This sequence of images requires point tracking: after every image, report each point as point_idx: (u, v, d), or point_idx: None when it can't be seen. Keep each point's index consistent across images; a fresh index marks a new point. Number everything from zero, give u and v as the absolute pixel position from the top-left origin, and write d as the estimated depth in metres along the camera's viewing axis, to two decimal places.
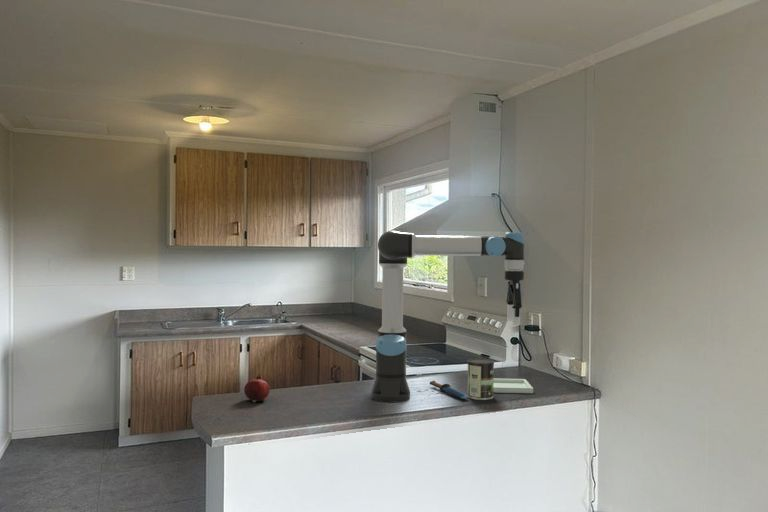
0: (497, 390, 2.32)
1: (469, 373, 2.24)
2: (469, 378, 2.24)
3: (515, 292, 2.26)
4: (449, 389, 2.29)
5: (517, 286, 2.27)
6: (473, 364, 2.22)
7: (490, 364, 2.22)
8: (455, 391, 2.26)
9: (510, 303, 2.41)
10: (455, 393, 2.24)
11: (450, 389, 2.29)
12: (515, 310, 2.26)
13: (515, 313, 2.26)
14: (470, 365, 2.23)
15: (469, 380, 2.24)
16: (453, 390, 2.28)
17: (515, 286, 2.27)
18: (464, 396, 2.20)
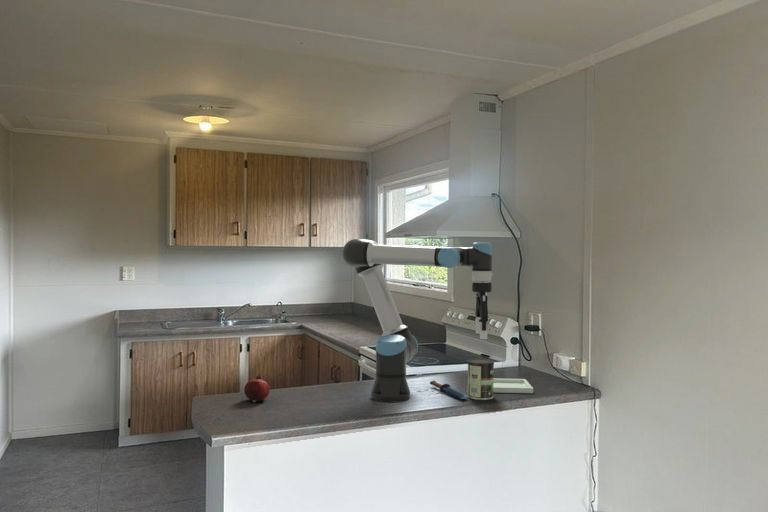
0: (497, 390, 2.32)
1: (469, 373, 2.24)
2: (469, 378, 2.24)
3: (482, 305, 2.17)
4: (449, 389, 2.29)
5: (484, 298, 2.18)
6: (473, 364, 2.22)
7: (490, 364, 2.22)
8: (455, 391, 2.26)
9: (479, 315, 2.32)
10: (455, 393, 2.24)
11: (450, 389, 2.29)
12: (482, 323, 2.18)
13: (482, 327, 2.17)
14: (470, 365, 2.23)
15: (469, 380, 2.24)
16: (453, 390, 2.28)
17: (482, 298, 2.18)
18: (464, 396, 2.20)
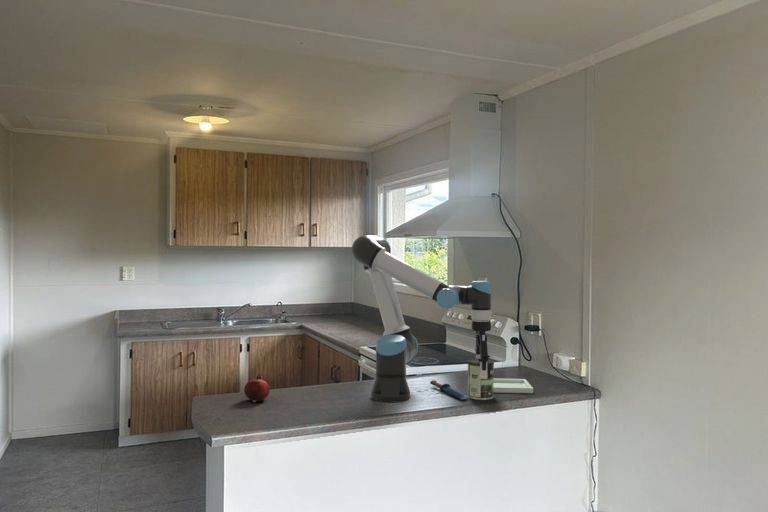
0: (497, 390, 2.32)
1: (469, 373, 2.24)
2: (469, 378, 2.24)
3: (481, 345, 2.18)
4: (449, 389, 2.29)
5: (483, 338, 2.18)
6: (473, 364, 2.22)
7: (490, 364, 2.22)
8: (455, 391, 2.26)
9: (479, 353, 2.33)
10: (455, 394, 2.24)
11: (450, 389, 2.29)
12: (482, 363, 2.18)
13: (482, 366, 2.18)
14: (470, 365, 2.23)
15: (469, 380, 2.24)
16: (453, 390, 2.28)
17: (481, 338, 2.18)
18: (463, 397, 2.20)
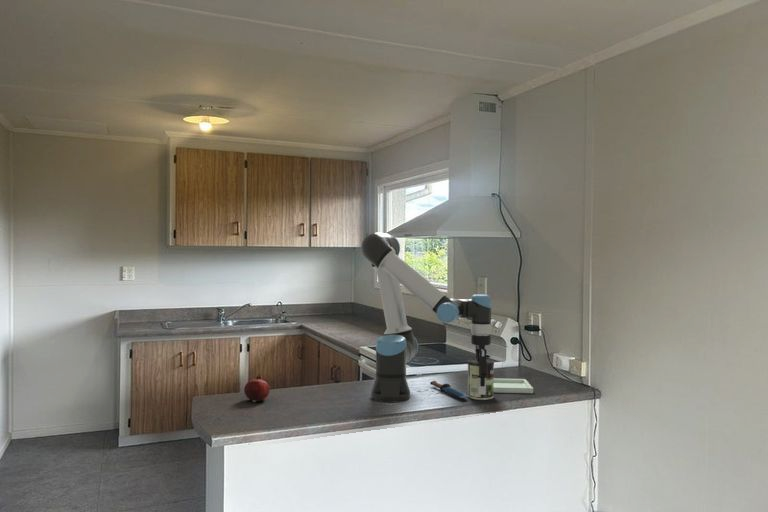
0: (497, 390, 2.32)
1: (469, 373, 2.24)
2: (469, 378, 2.24)
3: (481, 361, 2.18)
4: (449, 389, 2.29)
5: (483, 354, 2.19)
6: (473, 364, 2.22)
7: (490, 364, 2.22)
8: (455, 390, 2.27)
9: None
10: (454, 393, 2.24)
11: (450, 389, 2.29)
12: (480, 379, 2.19)
13: (480, 382, 2.19)
14: (470, 365, 2.23)
15: (469, 380, 2.24)
16: (453, 390, 2.28)
17: (481, 354, 2.19)
18: (463, 396, 2.20)
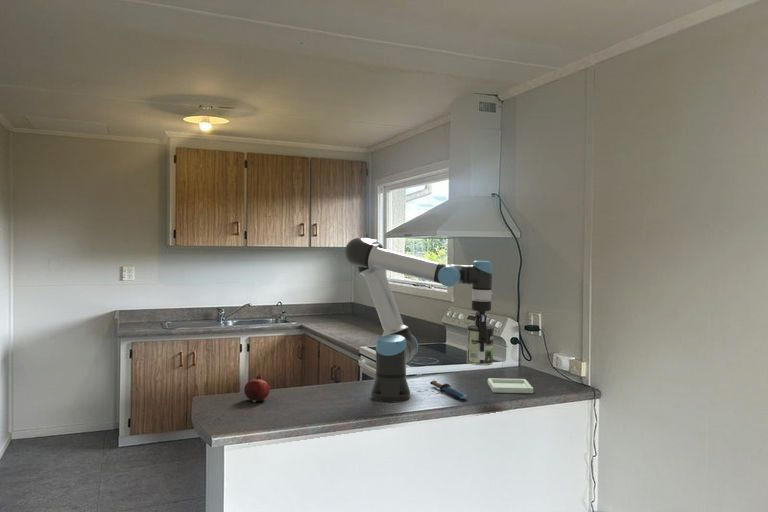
0: (497, 390, 2.32)
1: (469, 339, 2.24)
2: (469, 344, 2.24)
3: (480, 326, 2.18)
4: (449, 389, 2.29)
5: (483, 319, 2.18)
6: (473, 330, 2.22)
7: (490, 330, 2.21)
8: (455, 391, 2.27)
9: None
10: (454, 393, 2.24)
11: (450, 389, 2.29)
12: (480, 345, 2.19)
13: (480, 348, 2.19)
14: (470, 331, 2.23)
15: (469, 346, 2.24)
16: (453, 390, 2.28)
17: (481, 319, 2.18)
18: (463, 396, 2.20)
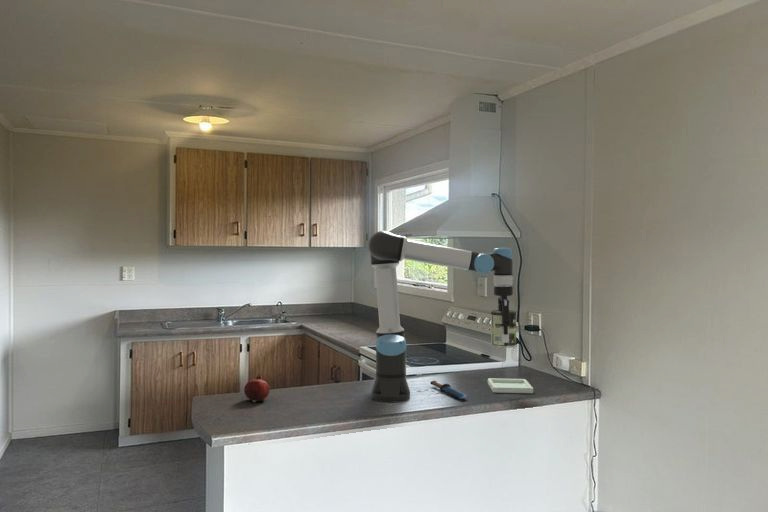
0: (497, 390, 2.32)
1: (492, 323, 2.33)
2: (493, 328, 2.33)
3: (503, 310, 2.28)
4: (449, 389, 2.29)
5: (505, 303, 2.28)
6: (496, 314, 2.31)
7: (513, 313, 2.31)
8: (455, 391, 2.26)
9: None
10: (454, 393, 2.24)
11: (450, 389, 2.29)
12: (503, 328, 2.29)
13: (503, 331, 2.29)
14: (493, 315, 2.33)
15: (493, 329, 2.33)
16: (453, 390, 2.28)
17: (503, 303, 2.28)
18: (463, 396, 2.20)
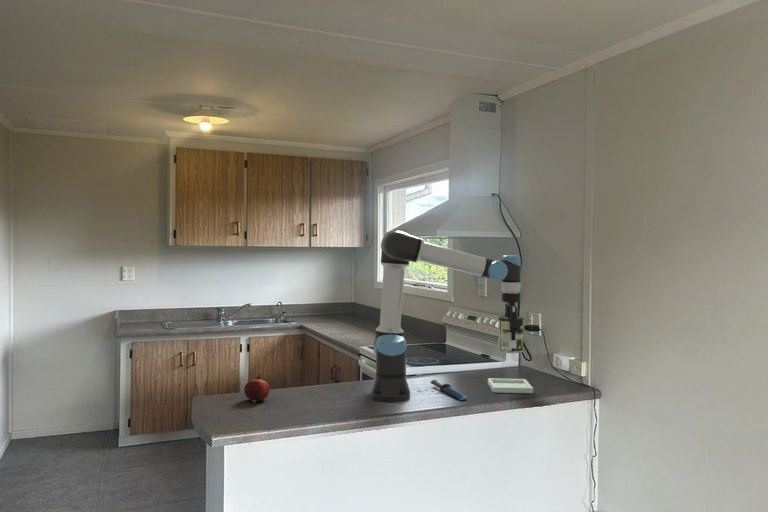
0: (497, 390, 2.32)
1: (500, 328, 2.38)
2: (500, 333, 2.38)
3: (511, 316, 2.32)
4: (449, 389, 2.29)
5: (514, 310, 2.33)
6: (504, 320, 2.36)
7: (520, 320, 2.36)
8: (455, 392, 2.26)
9: None
10: (454, 394, 2.24)
11: (450, 389, 2.29)
12: (511, 334, 2.33)
13: (511, 337, 2.33)
14: (501, 321, 2.37)
15: (500, 335, 2.38)
16: (453, 391, 2.28)
17: (512, 310, 2.33)
18: (463, 397, 2.20)
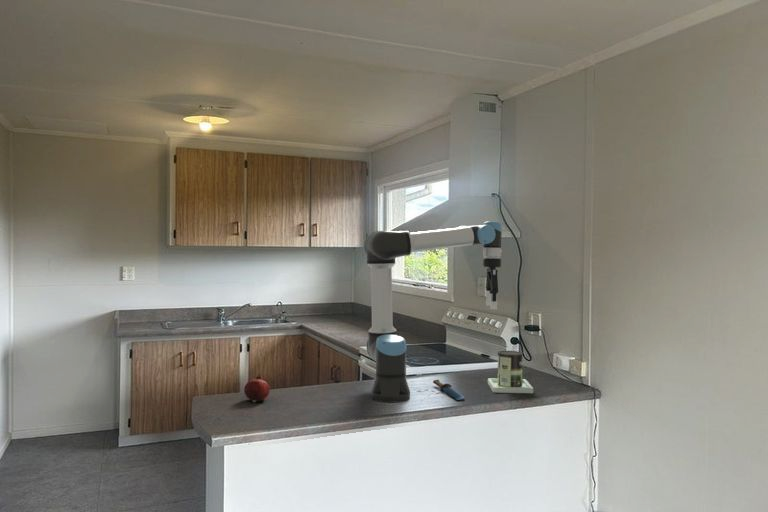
0: (497, 390, 2.32)
1: (499, 364, 2.38)
2: (499, 369, 2.38)
3: (492, 278, 2.39)
4: (448, 389, 2.29)
5: (494, 272, 2.40)
6: (503, 355, 2.36)
7: (519, 355, 2.36)
8: (454, 391, 2.27)
9: (489, 289, 2.54)
10: (452, 394, 2.24)
11: (449, 389, 2.29)
12: (492, 295, 2.39)
13: (492, 298, 2.39)
14: (500, 356, 2.38)
15: (499, 371, 2.38)
16: (452, 391, 2.28)
17: (492, 272, 2.40)
18: (460, 398, 2.20)
